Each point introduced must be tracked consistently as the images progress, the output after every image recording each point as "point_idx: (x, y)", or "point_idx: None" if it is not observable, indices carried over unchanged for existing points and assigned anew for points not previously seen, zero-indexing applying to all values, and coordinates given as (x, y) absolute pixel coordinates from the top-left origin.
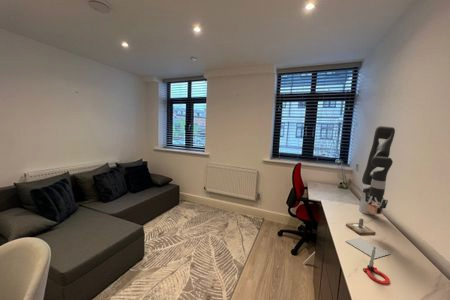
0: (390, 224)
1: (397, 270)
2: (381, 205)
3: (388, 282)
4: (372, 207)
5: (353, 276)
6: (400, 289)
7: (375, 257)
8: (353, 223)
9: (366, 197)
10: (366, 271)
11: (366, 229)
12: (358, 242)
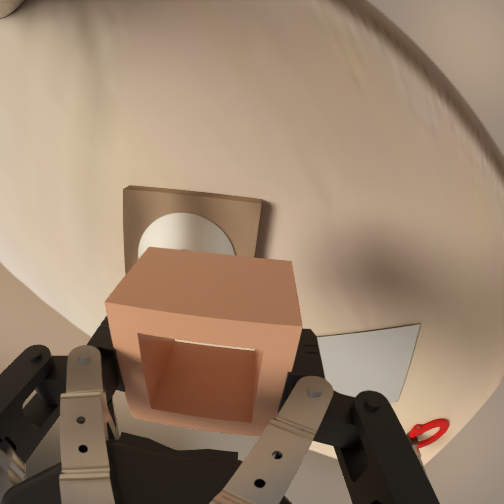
0: None
1: (455, 376)
2: (347, 471)
3: (447, 428)
4: (229, 426)
5: None
6: (465, 415)
7: (397, 395)
8: (125, 252)
9: (28, 442)
10: None
11: (218, 244)
12: None
